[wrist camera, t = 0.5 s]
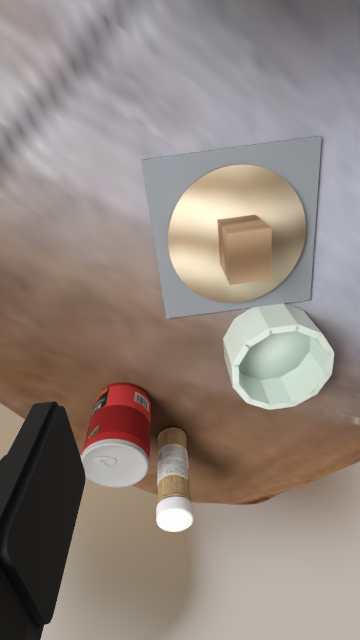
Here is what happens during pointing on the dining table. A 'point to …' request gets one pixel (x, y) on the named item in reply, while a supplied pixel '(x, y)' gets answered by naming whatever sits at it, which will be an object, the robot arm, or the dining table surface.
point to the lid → (236, 233)
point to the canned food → (118, 437)
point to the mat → (182, 170)
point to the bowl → (276, 356)
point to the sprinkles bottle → (173, 482)
